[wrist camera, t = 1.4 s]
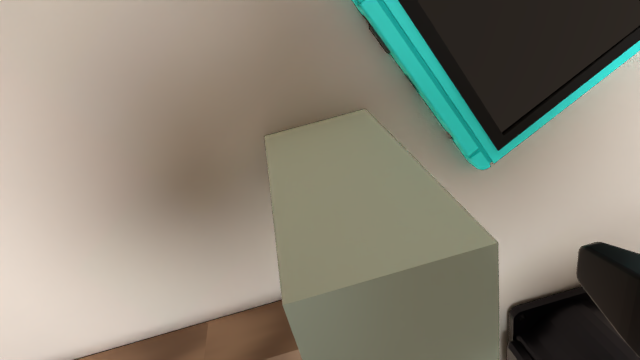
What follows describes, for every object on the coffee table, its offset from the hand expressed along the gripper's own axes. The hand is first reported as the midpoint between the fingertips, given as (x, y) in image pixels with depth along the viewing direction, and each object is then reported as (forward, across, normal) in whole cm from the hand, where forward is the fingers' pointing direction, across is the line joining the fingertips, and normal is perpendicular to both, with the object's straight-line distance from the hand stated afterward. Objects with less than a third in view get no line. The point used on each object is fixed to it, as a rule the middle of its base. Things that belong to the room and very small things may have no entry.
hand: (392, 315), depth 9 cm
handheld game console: (+9, -11, -6) cm, 15 cm away
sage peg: (+8, 0, 0) cm, 8 cm away
